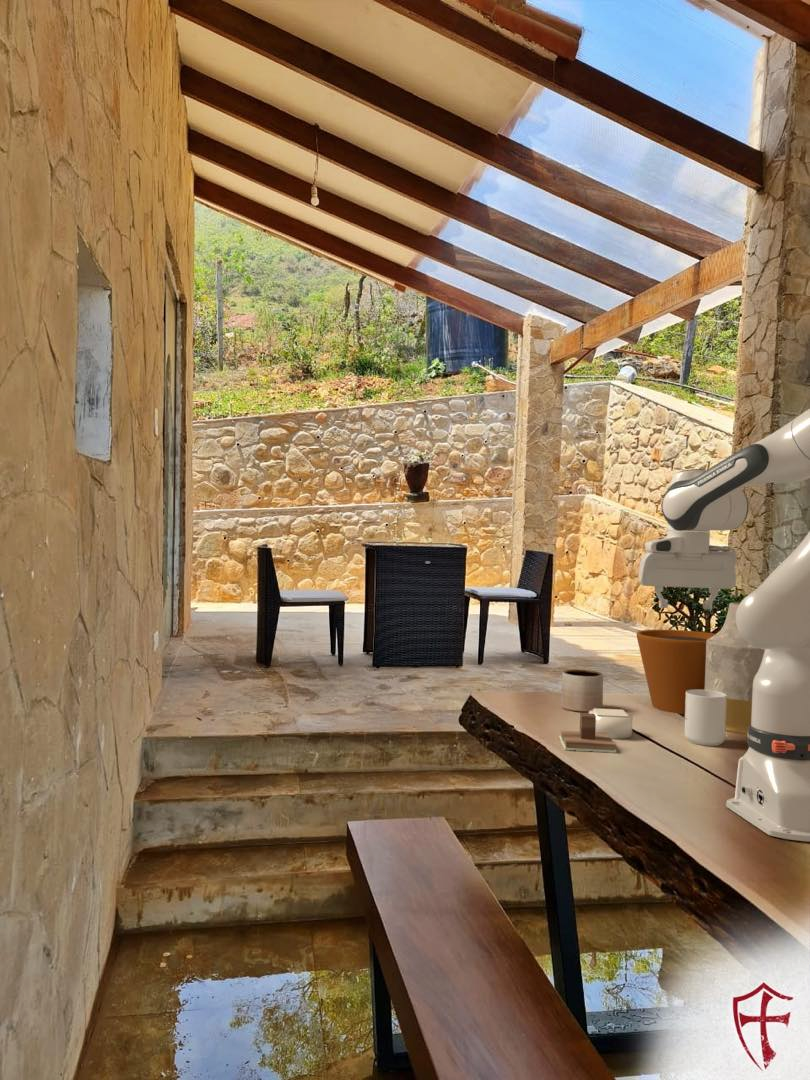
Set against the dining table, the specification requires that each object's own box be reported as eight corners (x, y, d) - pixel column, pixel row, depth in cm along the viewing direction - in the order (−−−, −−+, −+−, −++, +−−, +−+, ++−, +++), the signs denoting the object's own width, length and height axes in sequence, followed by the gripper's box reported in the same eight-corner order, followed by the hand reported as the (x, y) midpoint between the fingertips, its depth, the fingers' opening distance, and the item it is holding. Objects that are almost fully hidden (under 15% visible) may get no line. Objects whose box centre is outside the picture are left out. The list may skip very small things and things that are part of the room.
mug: (727, 748, 189) (728, 698, 189) (685, 744, 191) (686, 695, 191) (721, 736, 201) (723, 689, 201) (682, 732, 203) (683, 686, 203)
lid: (615, 750, 183) (616, 721, 182) (565, 747, 183) (566, 719, 183) (607, 738, 193) (608, 710, 193) (560, 735, 194) (561, 708, 194)
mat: (616, 752, 182) (616, 750, 182) (564, 750, 183) (564, 747, 183) (607, 740, 193) (608, 737, 193) (559, 737, 194) (559, 735, 194)
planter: (552, 705, 229) (553, 670, 229) (585, 703, 234) (586, 668, 234) (577, 714, 220) (578, 677, 219) (611, 711, 224) (612, 675, 224)
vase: (744, 715, 224) (748, 600, 223) (799, 732, 207) (804, 607, 206) (687, 719, 217) (692, 600, 217) (740, 737, 200) (745, 607, 200)
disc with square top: (635, 739, 194) (636, 718, 194) (591, 737, 195) (592, 715, 195) (627, 729, 204) (628, 708, 204) (585, 727, 205) (586, 706, 205)
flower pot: (616, 701, 237) (618, 630, 237) (684, 697, 246) (686, 628, 246) (674, 720, 215) (676, 642, 215) (746, 715, 224) (749, 639, 224)
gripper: (732, 546, 187) (729, 608, 188) (637, 542, 189) (635, 605, 189) (741, 546, 181) (739, 611, 181) (643, 543, 183) (641, 607, 183)
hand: (685, 608), depth 185 cm, fingers open, 8 cm apart
